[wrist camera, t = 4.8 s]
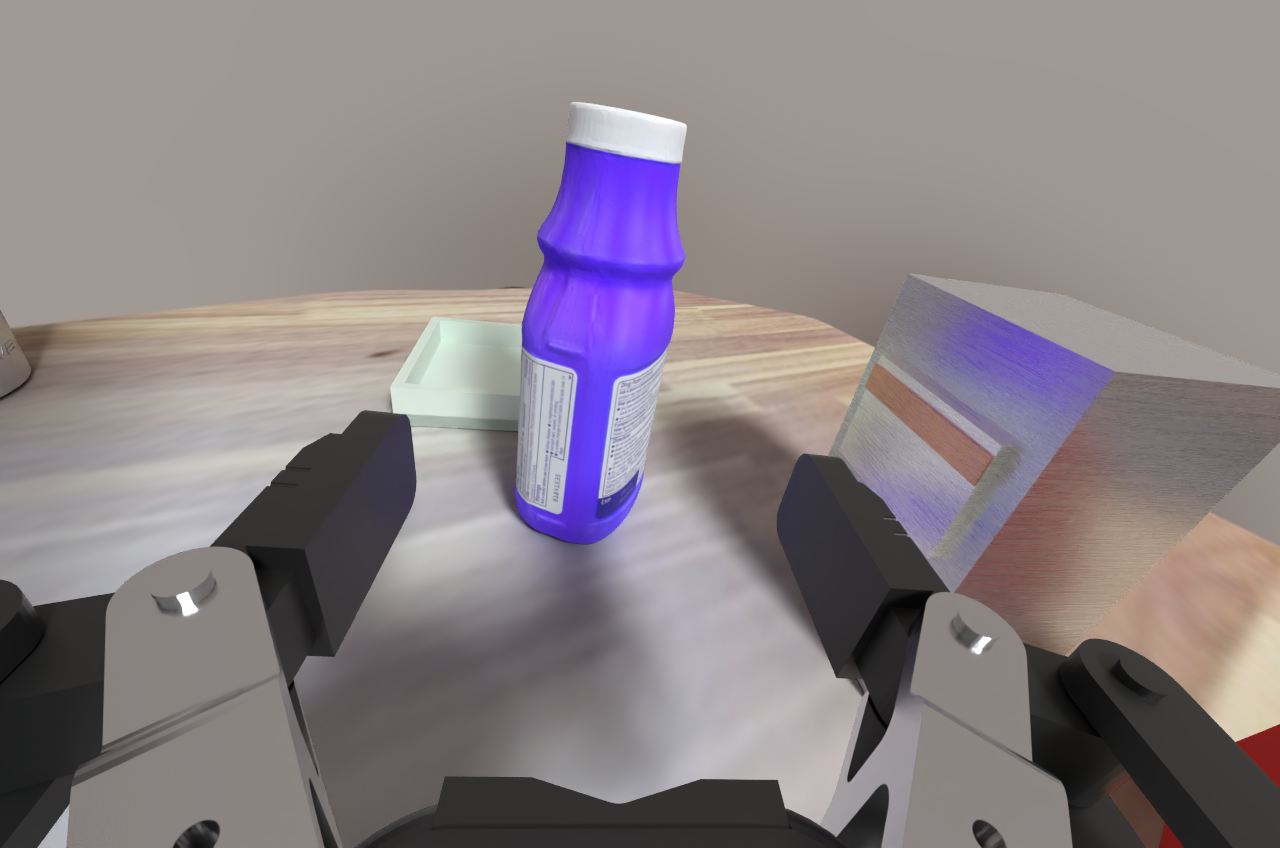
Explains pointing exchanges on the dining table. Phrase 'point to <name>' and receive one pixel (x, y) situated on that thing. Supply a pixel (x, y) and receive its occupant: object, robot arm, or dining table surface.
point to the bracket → (1268, 749)
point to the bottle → (599, 323)
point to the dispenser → (1048, 445)
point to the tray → (462, 376)
